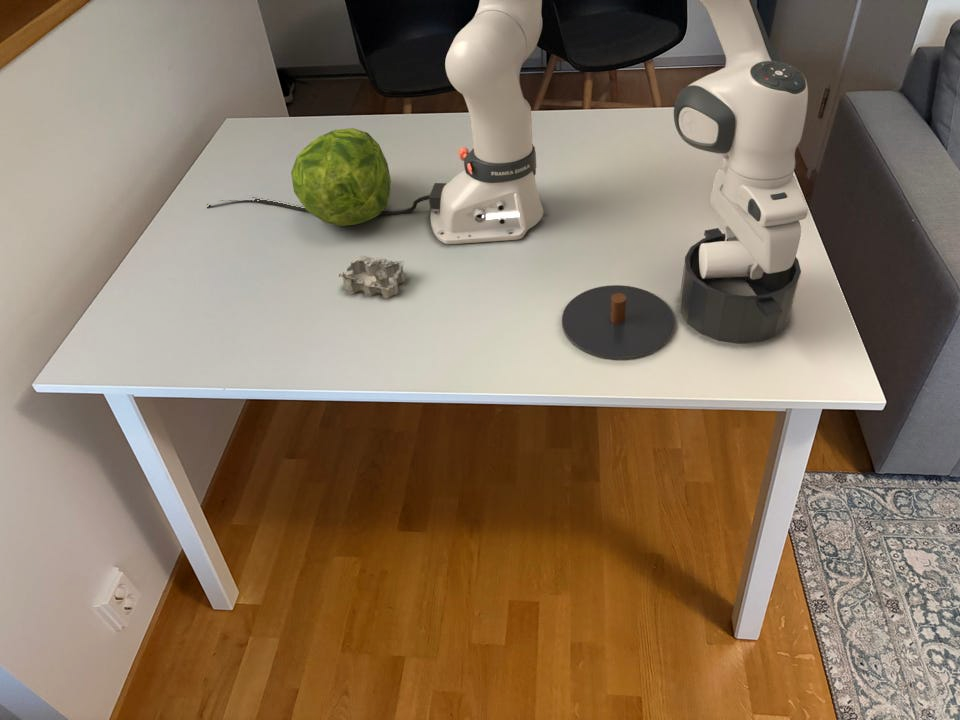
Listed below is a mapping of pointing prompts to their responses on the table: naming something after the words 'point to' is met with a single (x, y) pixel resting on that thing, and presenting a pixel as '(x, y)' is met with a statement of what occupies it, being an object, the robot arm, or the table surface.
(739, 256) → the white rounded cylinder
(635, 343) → the pot lid
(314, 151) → the lettuce
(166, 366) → the table surface
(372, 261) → the egg carton
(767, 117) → the robot arm
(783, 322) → the pot
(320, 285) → the table surface
